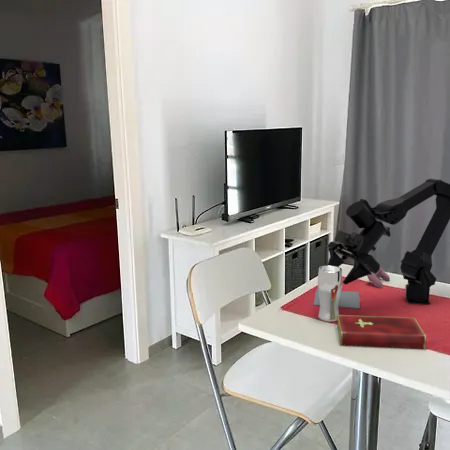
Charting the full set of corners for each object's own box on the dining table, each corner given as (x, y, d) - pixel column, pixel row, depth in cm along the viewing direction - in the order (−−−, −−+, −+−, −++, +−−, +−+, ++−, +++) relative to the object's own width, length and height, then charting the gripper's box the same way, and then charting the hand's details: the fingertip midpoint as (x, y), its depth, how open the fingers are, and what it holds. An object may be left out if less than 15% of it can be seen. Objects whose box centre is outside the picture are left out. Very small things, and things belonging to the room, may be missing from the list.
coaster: (358, 293, 162) (358, 292, 162) (359, 309, 149) (359, 307, 149) (316, 290, 165) (316, 289, 165) (313, 305, 152) (313, 304, 152)
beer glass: (341, 323, 139) (343, 273, 136) (316, 321, 140) (317, 271, 137) (340, 313, 145) (342, 265, 142) (316, 312, 147) (318, 264, 144)
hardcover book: (425, 351, 122) (426, 335, 122) (340, 347, 125) (340, 332, 124) (413, 330, 134) (414, 316, 133) (336, 327, 137) (336, 313, 136)
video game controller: (379, 283, 176) (372, 265, 177) (391, 279, 174) (383, 261, 174) (370, 291, 168) (362, 272, 169) (382, 287, 166) (374, 268, 166)
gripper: (333, 215, 148) (301, 254, 146) (373, 227, 131) (337, 271, 129) (353, 237, 152) (322, 275, 151) (395, 252, 135) (360, 295, 134)
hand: (334, 278), depth 141 cm, fingers open, 9 cm apart
